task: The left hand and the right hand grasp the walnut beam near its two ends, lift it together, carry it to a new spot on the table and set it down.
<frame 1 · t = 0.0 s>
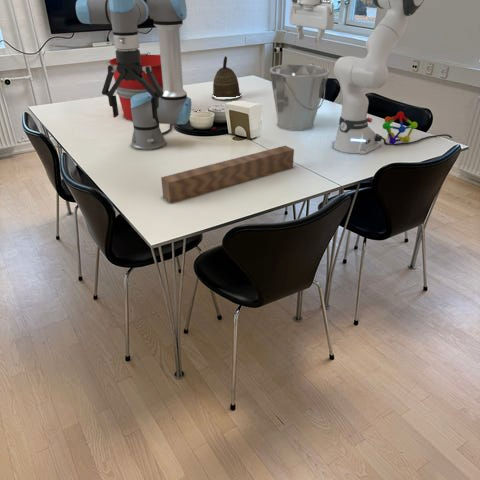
left hand: (135, 116, 150), 28 cm above the table, tool pointing down, fingers open, 13 cm apart
right hand: (309, 40, 164), 48 cm above the table, tool pointing down, fingers open, 8 cm apart
bell: (226, 97, 281), on the table
bucket: (295, 125, 233), on the table
educational toy: (395, 143, 211), on the table
bucket 2: (146, 115, 247), on the table
beam: (232, 181, 173), on the table
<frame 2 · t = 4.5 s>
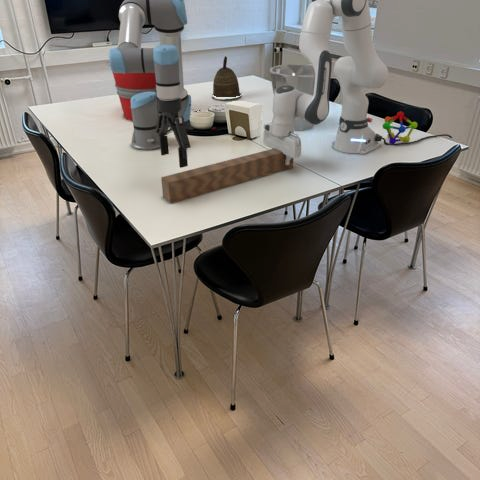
left hand: (174, 160, 153), 14 cm above the table, tool pointing down, fingers open, 13 cm apart
right hand: (281, 161, 183), 3 cm above the table, tool pointing down, fingers closed on beam, 5 cm apart
beam: (232, 181, 173), on the table, touching right hand
everything else where it was.
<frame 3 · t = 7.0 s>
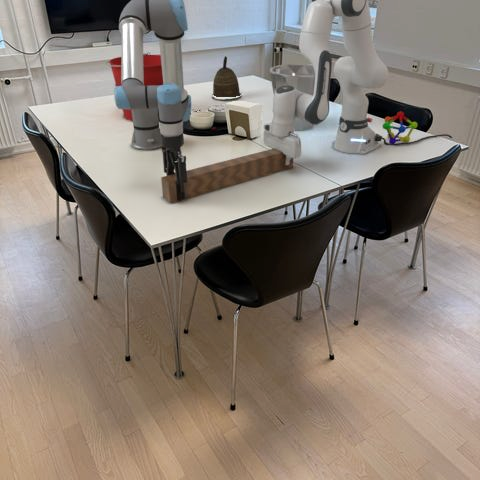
left hand: (176, 195, 160), 1 cm above the table, tool pointing down, fingers closed on beam, 6 cm apart
right hand: (281, 161, 183), 3 cm above the table, tool pointing down, fingers closed on beam, 5 cm apart
beam: (232, 181, 173), on the table, touching left hand, right hand
everything else where it was.
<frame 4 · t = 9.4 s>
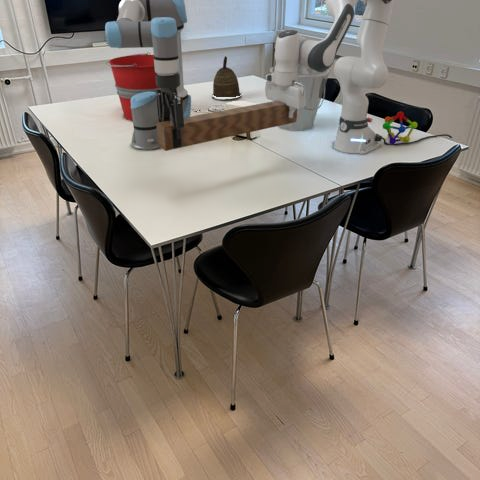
left hand: (173, 144, 150), 20 cm above the table, tool pointing down, fingers closed on beam, 6 cm apart
right hand: (284, 115, 173), 22 cm above the table, tool pointing down, fingers closed on beam, 5 cm apart
beam: (232, 133, 163), point 19 cm above the table, touching left hand, right hand
everything else where it was.
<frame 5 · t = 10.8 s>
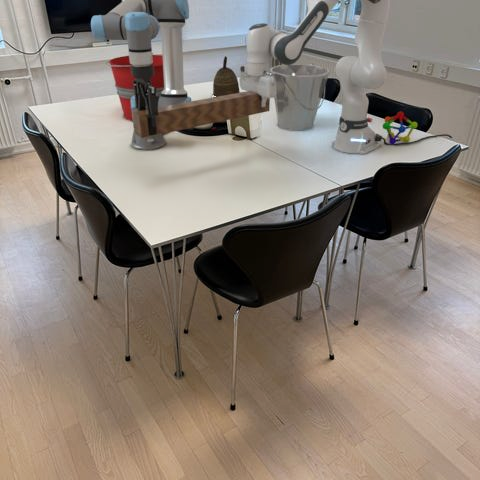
left hand: (149, 132, 160), 20 cm above the table, tool pointing down, fingers closed on beam, 6 cm apart
right hand: (257, 104, 182), 23 cm above the table, tool pointing down, fingers closed on beam, 5 cm apart
beam: (206, 121, 172), point 20 cm above the table, touching left hand, right hand
everything else where it was.
when the left hand's fingers open (1 cm above the table, at t = 14.5 s): beam stays where it is, on the table.
when the right hand's fingers open (3 cm above the table, at t = 14.7 s): beam stays where it is, on the table.
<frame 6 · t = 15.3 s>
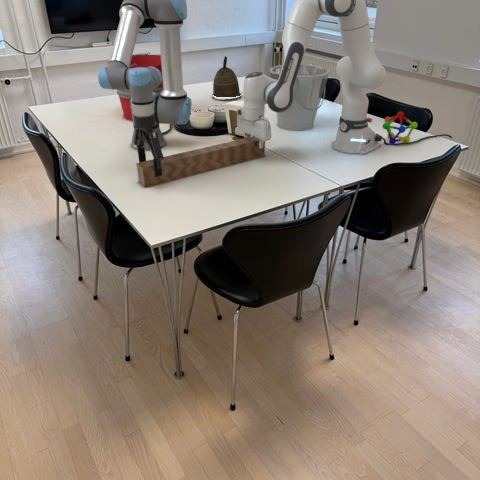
left hand: (150, 169, 169), 5 cm above the table, tool pointing down, fingers open, 13 cm apart
right hand: (253, 144, 193), 5 cm above the table, tool pointing down, fingers open, 8 cm apart
beam: (205, 168, 183), on the table
everything else where it was.
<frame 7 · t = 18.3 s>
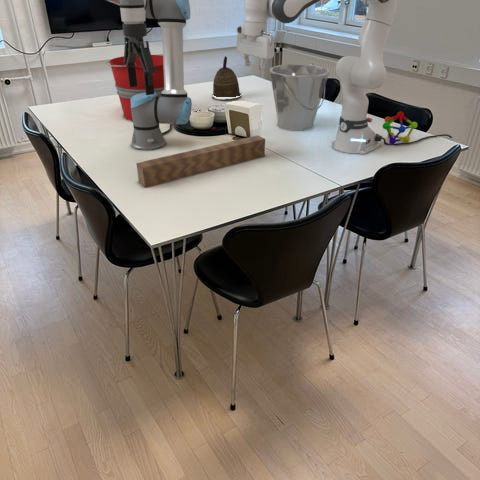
left hand: (141, 90, 153), 35 cm above the table, tool pointing down, fingers open, 13 cm apart
right hand: (254, 67, 176), 37 cm above the table, tool pointing down, fingers open, 8 cm apart
nothing on the table moved.
at the end: beam inside the target area (0.2 cm from its centre), on the table; beam tilted 0°; beam never tilted more than 1° during the clip; both hands held the beam at the same time; the left hand is holding nothing; the right hand is holding nothing; beam at rest at the end (0.0 cm/s) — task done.
